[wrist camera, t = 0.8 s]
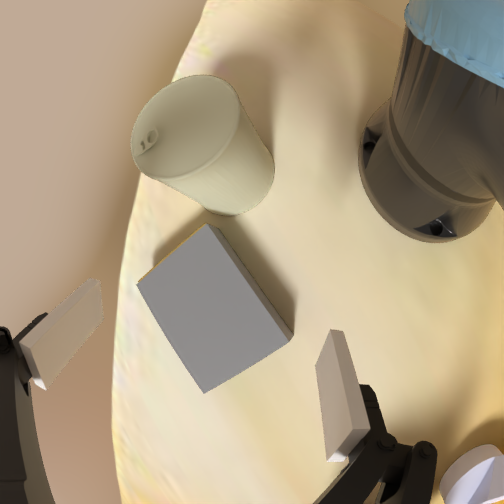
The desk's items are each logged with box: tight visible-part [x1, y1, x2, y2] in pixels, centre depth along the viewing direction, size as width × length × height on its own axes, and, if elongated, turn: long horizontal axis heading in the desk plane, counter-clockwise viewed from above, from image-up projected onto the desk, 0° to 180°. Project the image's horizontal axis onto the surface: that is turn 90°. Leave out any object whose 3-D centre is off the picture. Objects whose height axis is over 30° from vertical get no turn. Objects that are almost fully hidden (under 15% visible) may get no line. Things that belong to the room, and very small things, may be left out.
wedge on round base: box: [439, 444, 504, 504], centre depth 15 cm, size 9×7×13 cm
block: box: [137, 223, 294, 393], centre depth 28 cm, size 10×13×3 cm
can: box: [131, 75, 274, 216], centre depth 24 cm, size 9×9×12 cm
